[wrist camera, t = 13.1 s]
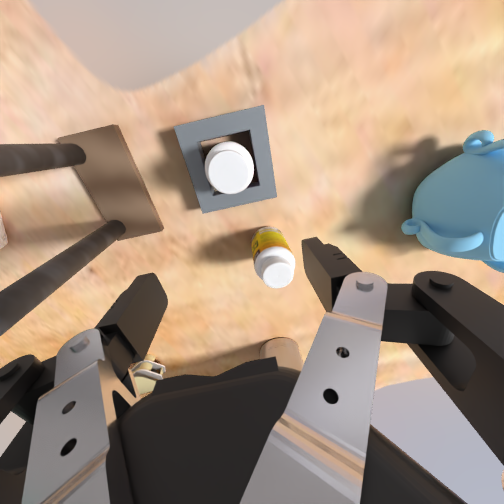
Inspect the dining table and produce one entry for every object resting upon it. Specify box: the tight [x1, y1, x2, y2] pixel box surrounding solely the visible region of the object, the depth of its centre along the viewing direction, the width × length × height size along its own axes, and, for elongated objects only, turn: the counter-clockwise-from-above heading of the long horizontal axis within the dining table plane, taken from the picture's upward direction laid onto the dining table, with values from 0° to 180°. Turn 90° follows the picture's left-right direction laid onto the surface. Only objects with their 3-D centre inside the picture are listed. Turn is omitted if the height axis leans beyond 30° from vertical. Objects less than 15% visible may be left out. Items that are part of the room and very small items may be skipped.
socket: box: [174, 105, 277, 213], centre depth 27 cm, size 10×10×3 cm
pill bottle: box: [205, 141, 254, 194], centre depth 24 cm, size 5×5×10 cm
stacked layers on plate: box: [131, 354, 166, 394], centre depth 45 cm, size 10×9×6 cm
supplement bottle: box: [251, 227, 295, 288], centre depth 30 cm, size 6×6×10 cm
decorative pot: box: [401, 130, 504, 273], centre depth 27 cm, size 16×16×14 cm
